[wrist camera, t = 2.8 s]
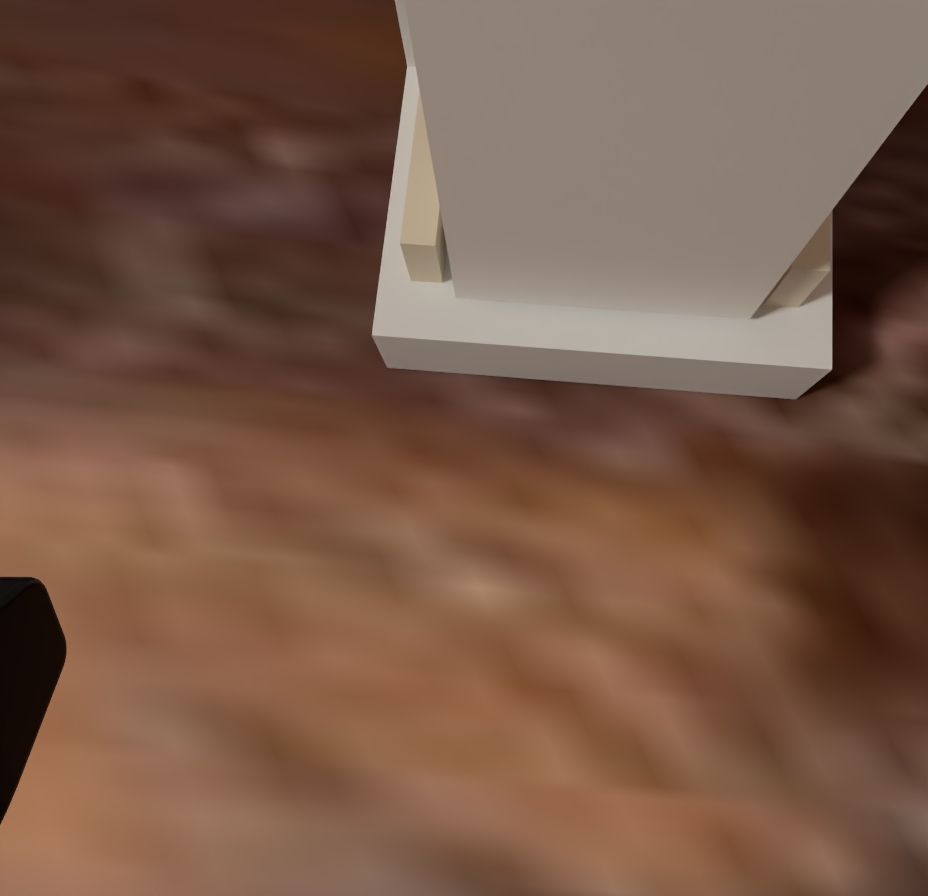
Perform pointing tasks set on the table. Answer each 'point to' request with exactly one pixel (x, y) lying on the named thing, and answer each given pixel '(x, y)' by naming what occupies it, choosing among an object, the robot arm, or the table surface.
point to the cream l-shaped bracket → (581, 309)
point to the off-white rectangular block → (652, 139)
